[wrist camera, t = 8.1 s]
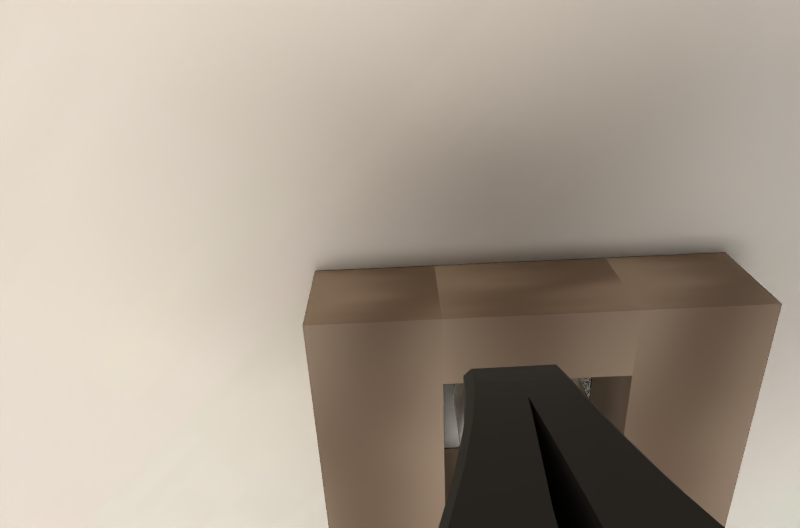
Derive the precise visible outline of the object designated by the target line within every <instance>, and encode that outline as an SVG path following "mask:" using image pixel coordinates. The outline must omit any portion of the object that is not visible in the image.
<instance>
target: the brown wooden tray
mask: <svg viewBox="0 0 800 528" xmlns="http://www.w3.org/2000/svg"><path fill="white" fill-rule="evenodd" d="M781 305H782V304H781V303H780V302H779V301H778V300H777V299H776V298H775V297H774V296H773V295H772V294H770V293H769V292H768V291H767V290H766V289H765V288H764V287H763V286H762V285H760V284H759V283H758V282H757V281H756V280H755V279H754V278H753V277H752V276H751V275H749V274H748V273H747V272H746V271H745V270H744V269H743V268H742V267H741V266H740V265H738V264H737V263H736V262H735V261H734V260H733V259H732V258H731V257H730V256H729V255H727V254H726V253H705V254H683V255H661V256H639V257H617V258H595V259H573V260H551V261H529V262H507V263H486V264H464V265H442V266H420V267H398V268H376V269H354V270H332V271H315V273H314V278H313V282H312V287H311V291H310V295H309V300H308V304H307V309H306V313H305V318H304V322H303V332H304V340H305V347H306V355H307V363H308V370H309V378H310V386H311V394H312V401H313V409H314V417H315V425H316V432H317V440H318V448H319V455H320V463H321V471H322V479H323V486H324V494H325V502H326V509H327V517H328V525H329V528H438V527H439V524H440V521H441V517H442V514H443V510H444V507H445V504H446V500H447V497H448V494H449V490H450V487H451V483H452V480H453V476H454V472H455V467H456V462H457V457H458V452H459V448H455V449H444V406H443V384H455V383H463V376H464V375H465V374H466V373H467V372H468V371H469V370H470V369H476V368H495V367H515V366H534V365H553V364H556V365H557V366H558V367H560V368H561V369H562V370H563V371H564V372H565V373H566V374H567V376H568V377H569V378H589V377H592V383H591V392H590V400H591V401H592V402H593V404H594V405H595V406H596V407H597V408H598V409H599V410H600V411H601V412H602V413H603V414H604V415H605V416H606V417H607V418H608V419H609V420H610V421H611V422H612V423H613V424H614V425H615V427H616V428H617V429H618V430H619V431H620V432H621V433H622V434H623V435H624V436H625V437H626V438H627V439H628V440H629V441H630V442H631V443H633V444H634V445H635V446H636V447H637V448H638V449H639V450H640V451H641V452H642V453H643V454H644V455H645V456H646V457H647V458H648V459H649V460H650V461H651V462H652V463H653V464H654V465H655V466H656V467H657V468H658V469H659V470H660V471H662V472H663V473H664V474H665V475H666V476H667V477H668V478H669V479H670V480H671V481H672V482H673V483H675V484H676V485H677V486H678V487H679V488H680V489H681V490H682V491H683V492H684V493H685V494H687V495H688V496H689V497H690V498H691V499H692V500H694V501H695V502H696V503H697V504H698V505H699V506H700V507H702V508H703V509H704V510H705V511H706V512H707V513H708V514H710V515H711V516H712V517H713V518H714V519H715V520H716V521H718V522H719V523H720V524H721V525H722V526H724V527H725V524H726V520H727V516H728V512H729V509H730V505H731V501H732V497H733V493H734V489H735V485H736V481H737V477H738V473H739V469H740V466H741V462H742V458H743V454H744V450H745V446H746V442H747V438H748V434H749V430H750V426H751V423H752V419H753V415H754V411H755V407H756V403H757V399H758V395H759V391H760V387H761V383H762V380H763V376H764V372H765V368H766V364H767V360H768V356H769V352H770V348H771V344H772V340H773V337H774V333H775V329H776V325H777V321H778V317H779V313H780V309H781Z"/></svg>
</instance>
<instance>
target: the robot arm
mask: <svg viewBox="0 0 800 528" xmlns="http://www.w3.org/2000/svg"><path fill="white" fill-rule="evenodd" d="M463 397H464V425H463V433H462V438H461V443H460V448H459V452H458V457H457V462H456V467H455V472H454V476H453V480H452V483H451V487H450V490H449V494H448V497H447V500H446V504H445V507H444V510H443V514H442V517H441V521H440V524H439V527H438V528H725V527H724V526H722V525H721V524H720V523H719V522H718V521H716V520H715V519H714V518H713V517H712V516H711V515H710V514H708V513H707V512H706V511H705V510H704V509H703V508H702V507H700V506H699V505H698V504H697V503H696V502H695V501H694V500H692V499H691V498H690V497H689V496H688V495H687V494H685V493H684V492H683V491H682V490H681V489H680V488H679V487H678V486H677V485H676V484H675V483H673V482H672V481H671V480H670V479H669V478H668V477H667V476H666V475H665V474H664V473H663V472H662V471H660V470H659V469H658V468H657V467H656V466H655V465H654V464H653V463H652V462H651V461H650V460H649V459H648V458H647V457H646V456H645V455H644V454H643V453H642V452H641V451H640V450H639V449H638V448H637V447H636V446H635V445H634V444H633V443H631V442H630V441H629V440H628V439H627V438H626V437H625V436H624V435H623V434H622V433H621V432H620V431H619V430H618V429H617V428H616V427H615V425H614V424H613V423H612V422H611V421H610V420H609V419H608V418H607V417H606V416H605V415H604V414H603V413H602V412H601V411H600V410H599V409H598V408H597V407H596V406H595V405H594V404H593V402H592V401H591V400H590V399H589V398H588V397H587V396H586V395H585V394H584V393H583V392H582V391H581V390H580V389H579V387H578V386H577V385H576V384H575V383H574V382H573V381H572V380H571V379H570V378H569V377H568V376H567V374H566V373H565V372H564V371H563V370H562V369H561V368H560V367H558V366H557V365H556V364H553V365H534V366H515V367H495V368H476V369H470V370H469V371H468V372H467V373H466V374H465V375H464V376H463Z"/></svg>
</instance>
